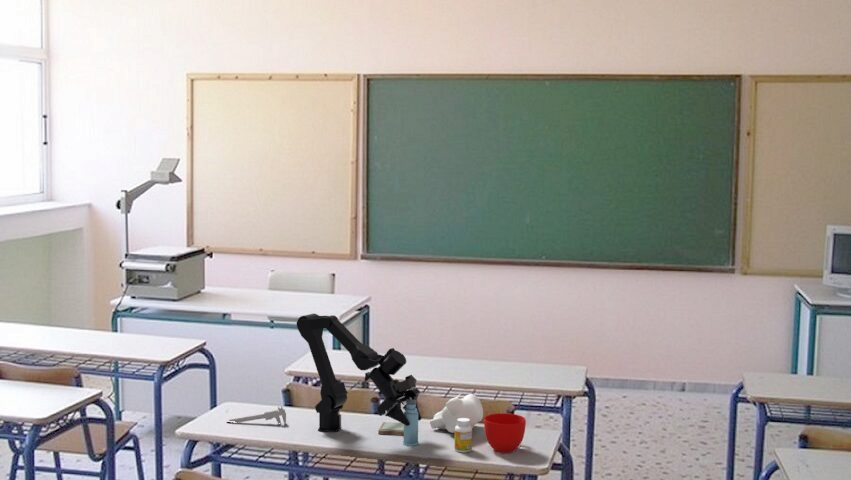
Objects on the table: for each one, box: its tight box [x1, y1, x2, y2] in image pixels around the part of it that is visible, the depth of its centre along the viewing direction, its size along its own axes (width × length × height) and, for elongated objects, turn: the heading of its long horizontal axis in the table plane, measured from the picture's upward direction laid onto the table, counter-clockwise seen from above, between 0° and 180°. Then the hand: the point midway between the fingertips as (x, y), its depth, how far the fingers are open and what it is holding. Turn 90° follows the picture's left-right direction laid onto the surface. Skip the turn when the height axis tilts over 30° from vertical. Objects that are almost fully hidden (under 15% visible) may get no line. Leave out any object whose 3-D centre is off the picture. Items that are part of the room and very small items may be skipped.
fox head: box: [429, 393, 484, 434], centre depth 334 cm, size 13×17×20 cm
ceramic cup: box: [483, 412, 527, 454], centre depth 315 cm, size 13×17×10 cm
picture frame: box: [377, 421, 404, 436], centre depth 334 cm, size 10×10×1 cm
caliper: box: [228, 405, 287, 424], centre depth 341 cm, size 20×1×6 cm, turn 89°
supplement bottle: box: [453, 418, 473, 453], centre depth 313 cm, size 5×5×10 cm
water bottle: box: [402, 399, 420, 447], centre depth 319 cm, size 5×5×14 cm
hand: (414, 422), depth 318 cm, fingers open, 7 cm apart
